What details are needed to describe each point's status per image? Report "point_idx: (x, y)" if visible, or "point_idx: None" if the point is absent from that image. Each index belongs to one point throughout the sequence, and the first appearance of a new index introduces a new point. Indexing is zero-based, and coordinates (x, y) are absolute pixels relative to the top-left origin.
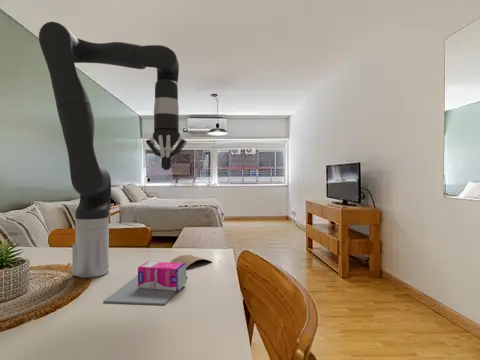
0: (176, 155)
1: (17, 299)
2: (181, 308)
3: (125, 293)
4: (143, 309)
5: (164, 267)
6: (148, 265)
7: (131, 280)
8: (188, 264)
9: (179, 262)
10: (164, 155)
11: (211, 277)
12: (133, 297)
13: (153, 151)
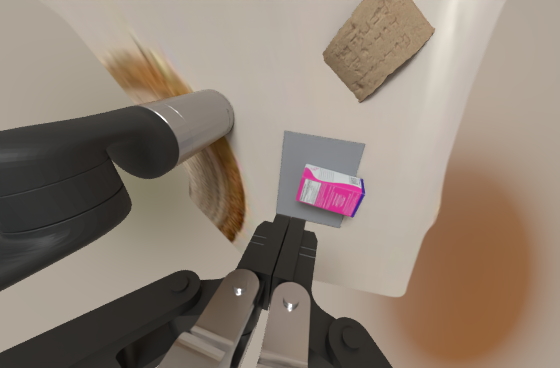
0: (358, 333)
1: (194, 193)
2: (356, 235)
3: (290, 198)
4: (319, 231)
5: (333, 208)
6: (308, 196)
7: (283, 156)
8: (369, 87)
9: (349, 67)
10: (255, 328)
11: (408, 146)
12: (303, 210)
13: (148, 335)
